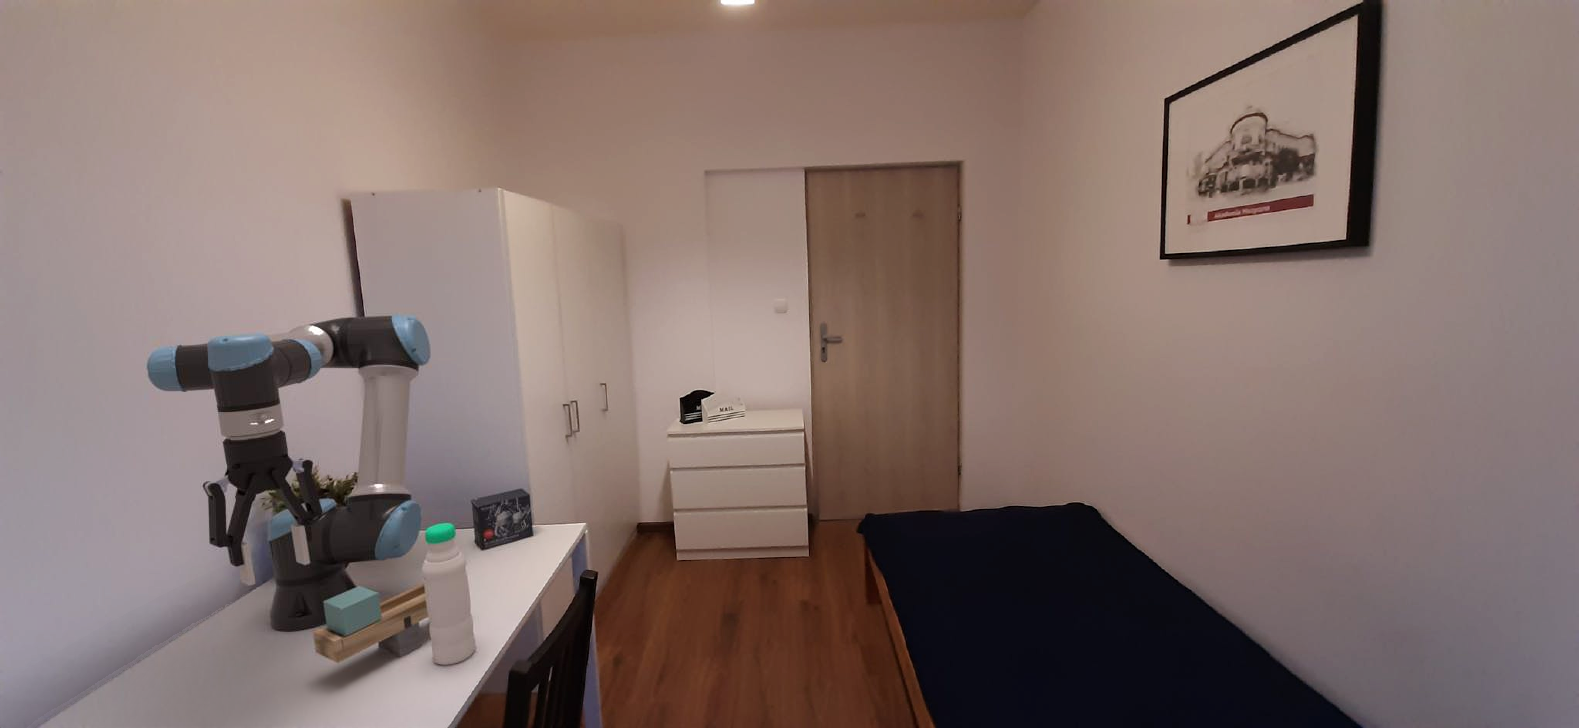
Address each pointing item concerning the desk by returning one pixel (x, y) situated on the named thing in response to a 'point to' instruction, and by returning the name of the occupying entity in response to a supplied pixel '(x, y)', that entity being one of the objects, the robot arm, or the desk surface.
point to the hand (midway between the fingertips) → (276, 572)
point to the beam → (380, 629)
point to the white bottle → (447, 597)
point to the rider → (352, 610)
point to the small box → (502, 518)
